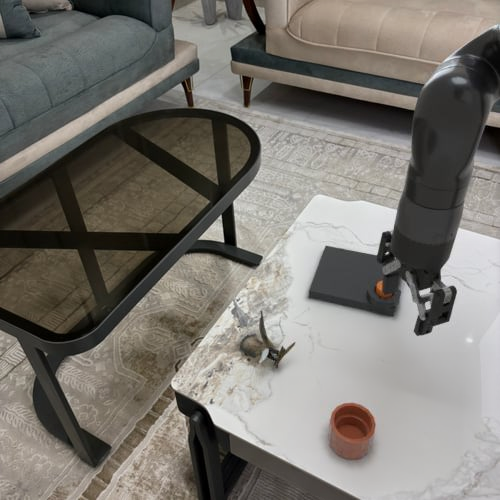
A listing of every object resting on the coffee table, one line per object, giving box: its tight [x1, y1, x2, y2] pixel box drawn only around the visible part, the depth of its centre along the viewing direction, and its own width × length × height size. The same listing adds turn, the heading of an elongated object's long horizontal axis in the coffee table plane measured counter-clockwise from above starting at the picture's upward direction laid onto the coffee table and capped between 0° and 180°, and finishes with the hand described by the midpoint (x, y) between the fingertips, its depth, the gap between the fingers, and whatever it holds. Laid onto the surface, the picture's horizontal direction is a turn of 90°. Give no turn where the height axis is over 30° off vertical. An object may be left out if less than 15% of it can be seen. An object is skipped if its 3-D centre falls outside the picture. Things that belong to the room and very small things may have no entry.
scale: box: [308, 245, 402, 317], centre depth 97 cm, size 16×14×4 cm
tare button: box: [376, 281, 392, 298], centre depth 91 cm, size 3×3×2 cm
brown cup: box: [327, 402, 377, 460], centre depth 72 cm, size 6×6×5 cm
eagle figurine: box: [239, 309, 296, 369], centre depth 84 cm, size 8×7×9 cm
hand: (404, 311), depth 73 cm, fingers open, 8 cm apart
